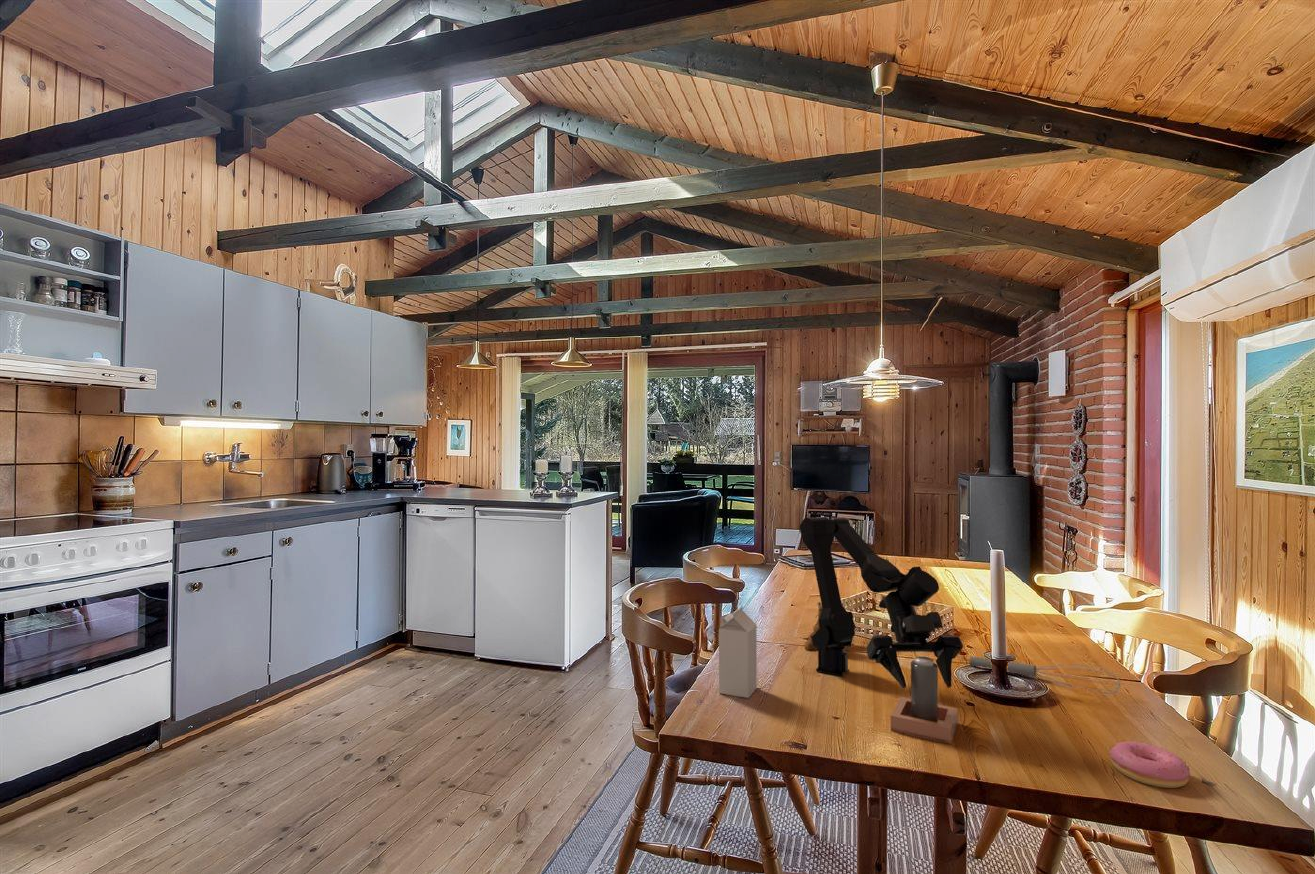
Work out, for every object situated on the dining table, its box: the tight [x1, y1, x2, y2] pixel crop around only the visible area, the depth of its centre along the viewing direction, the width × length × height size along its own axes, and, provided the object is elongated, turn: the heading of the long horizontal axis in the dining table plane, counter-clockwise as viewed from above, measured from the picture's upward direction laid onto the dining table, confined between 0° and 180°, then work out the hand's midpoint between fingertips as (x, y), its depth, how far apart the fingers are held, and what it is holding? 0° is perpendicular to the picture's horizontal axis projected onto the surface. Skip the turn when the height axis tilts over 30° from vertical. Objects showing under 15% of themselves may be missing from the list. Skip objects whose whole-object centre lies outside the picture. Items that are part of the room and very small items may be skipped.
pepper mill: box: [910, 655, 939, 723], centre depth 124 cm, size 5×5×13 cm
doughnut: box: [1108, 740, 1191, 789], centre depth 106 cm, size 11×11×4 cm
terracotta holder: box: [890, 696, 958, 745], centre depth 124 cm, size 11×11×3 cm
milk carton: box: [718, 605, 758, 699], centre depth 143 cm, size 7×7×19 cm
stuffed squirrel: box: [804, 601, 822, 651], centre depth 175 cm, size 10×14×13 cm
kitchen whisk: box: [961, 655, 1122, 697], centre depth 150 cm, size 6×34×6 cm, turn 48°
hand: (927, 686), depth 123 cm, fingers open, 9 cm apart
